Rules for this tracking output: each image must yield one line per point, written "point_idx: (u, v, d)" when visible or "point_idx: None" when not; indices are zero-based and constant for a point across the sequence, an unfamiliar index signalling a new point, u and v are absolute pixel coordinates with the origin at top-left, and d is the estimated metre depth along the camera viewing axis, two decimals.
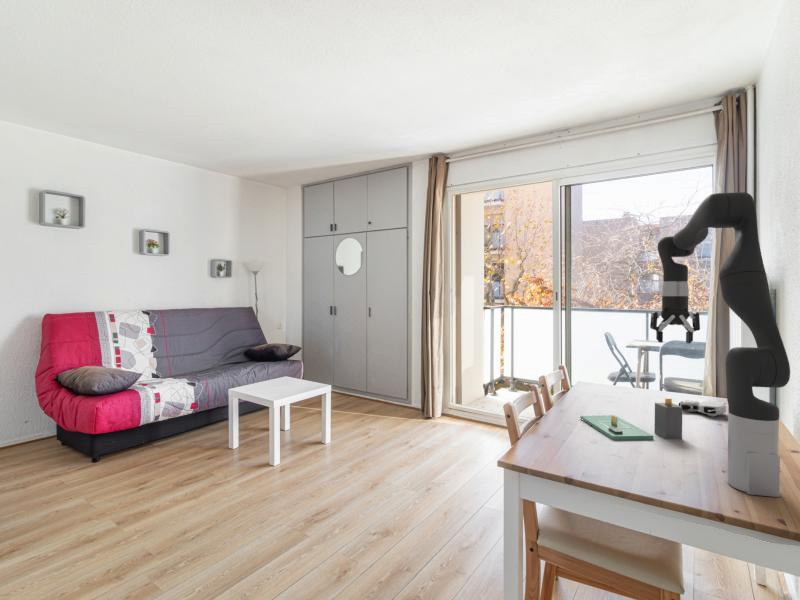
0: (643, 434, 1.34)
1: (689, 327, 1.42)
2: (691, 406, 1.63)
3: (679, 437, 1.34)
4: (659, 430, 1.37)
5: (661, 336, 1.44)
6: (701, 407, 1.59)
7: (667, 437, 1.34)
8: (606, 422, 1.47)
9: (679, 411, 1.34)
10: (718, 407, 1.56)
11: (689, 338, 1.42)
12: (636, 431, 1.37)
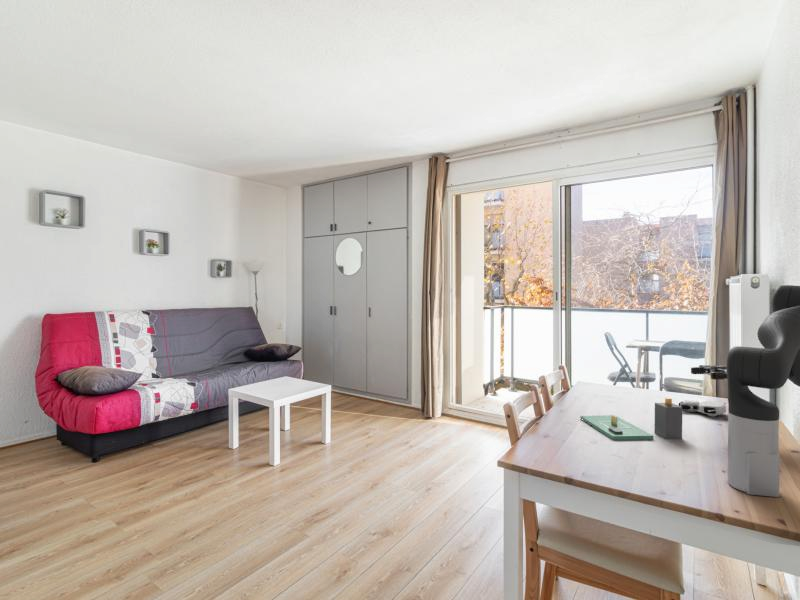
0: (643, 434, 1.34)
1: None
2: (691, 406, 1.63)
3: (679, 437, 1.34)
4: (659, 430, 1.37)
5: (697, 367, 1.41)
6: (701, 407, 1.59)
7: (667, 437, 1.34)
8: (606, 422, 1.47)
9: (679, 411, 1.34)
10: (718, 407, 1.56)
11: None
12: (636, 431, 1.37)
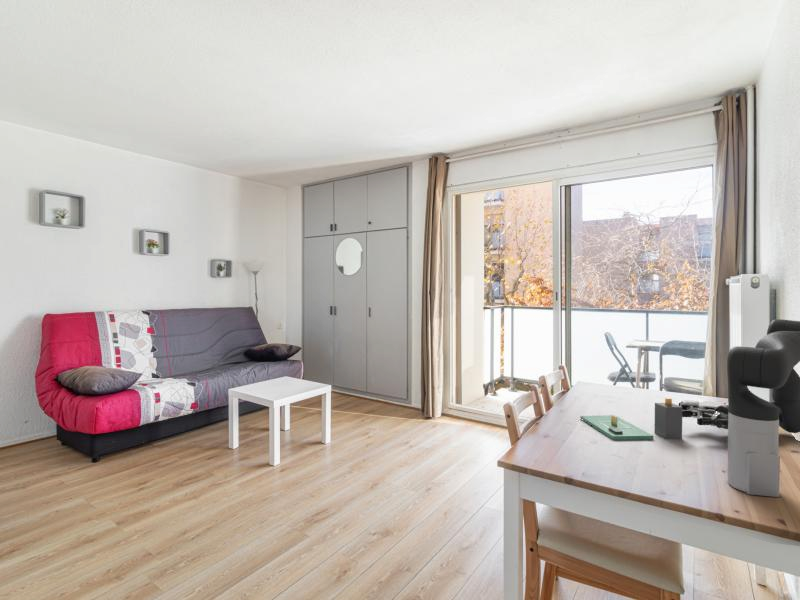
0: (643, 434, 1.34)
1: (714, 417, 1.33)
2: (691, 406, 1.63)
3: (679, 437, 1.34)
4: (659, 430, 1.37)
5: (685, 410, 1.41)
6: (701, 407, 1.59)
7: (667, 437, 1.34)
8: (606, 422, 1.47)
9: (679, 411, 1.34)
10: None
11: None
12: (636, 431, 1.37)
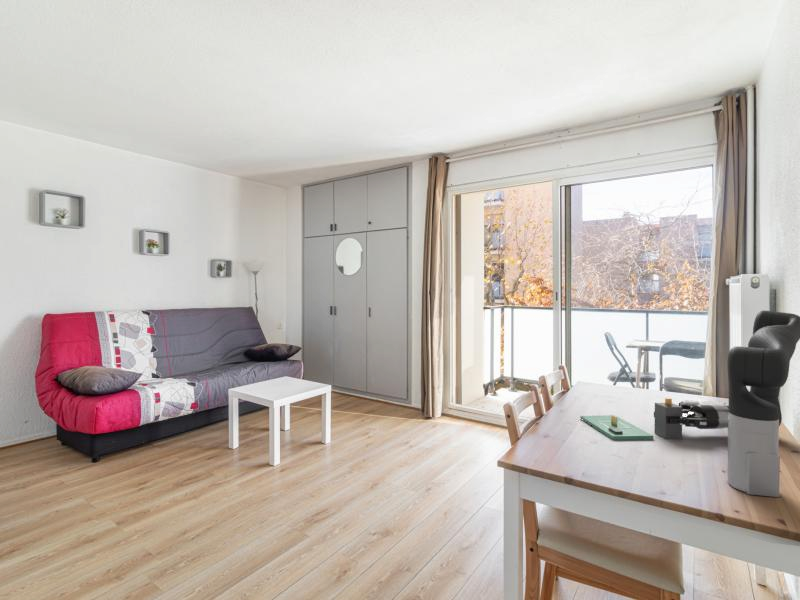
0: (643, 434, 1.34)
1: (683, 416, 1.34)
2: (691, 406, 1.63)
3: (679, 437, 1.34)
4: (659, 430, 1.37)
5: None
6: None
7: (667, 437, 1.34)
8: (606, 422, 1.47)
9: (679, 411, 1.34)
10: None
11: (671, 416, 1.34)
12: (636, 431, 1.37)
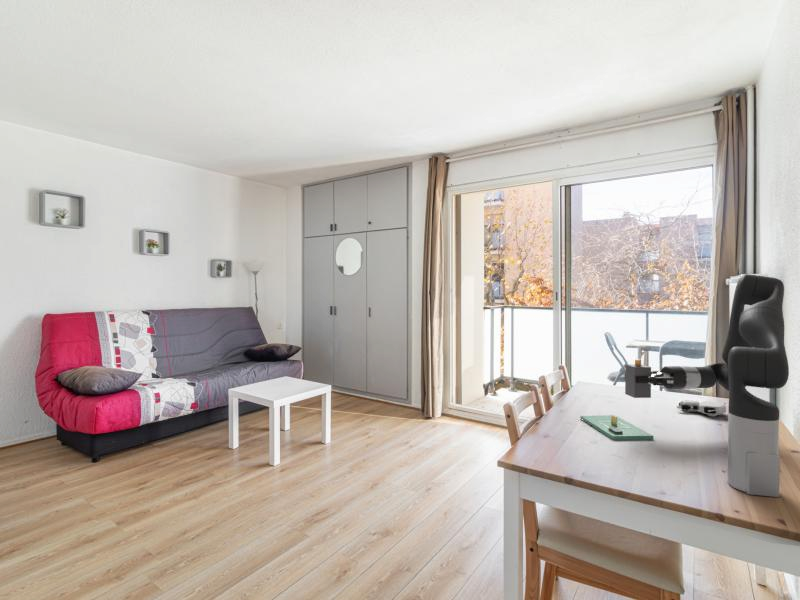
0: (643, 434, 1.34)
1: (652, 375, 1.38)
2: (691, 406, 1.63)
3: (648, 396, 1.38)
4: (629, 390, 1.41)
5: None
6: (701, 407, 1.59)
7: (636, 396, 1.38)
8: (606, 422, 1.47)
9: (648, 371, 1.38)
10: (718, 407, 1.56)
11: None
12: (636, 431, 1.37)
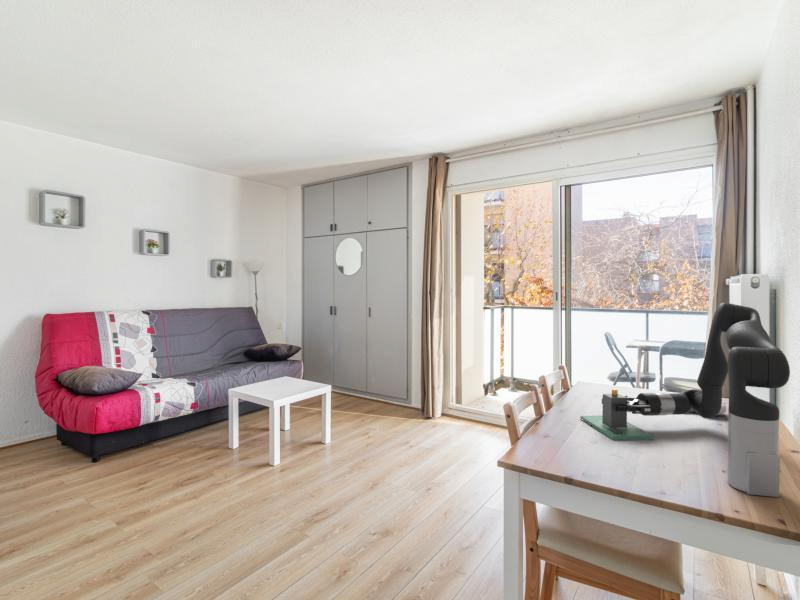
0: (643, 434, 1.34)
1: (630, 403, 1.40)
2: None
3: (624, 426, 1.41)
4: (606, 420, 1.44)
5: None
6: None
7: (613, 426, 1.41)
8: None
9: (624, 401, 1.41)
10: None
11: (619, 404, 1.40)
12: (636, 431, 1.37)
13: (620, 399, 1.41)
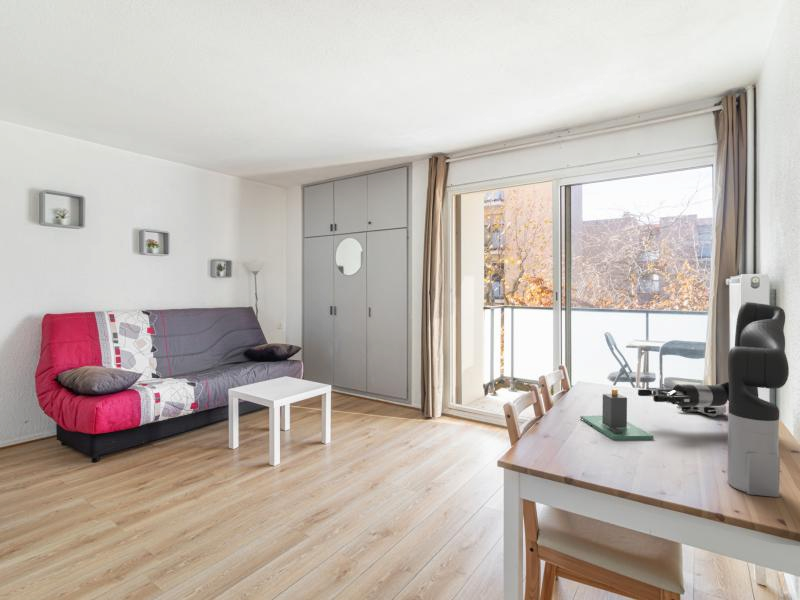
0: (643, 434, 1.34)
1: (669, 394, 1.40)
2: None
3: (624, 426, 1.41)
4: (606, 420, 1.44)
5: (644, 389, 1.48)
6: (701, 407, 1.59)
7: (613, 426, 1.41)
8: None
9: (624, 401, 1.41)
10: (718, 407, 1.56)
11: None
12: (636, 431, 1.37)
13: (620, 399, 1.41)
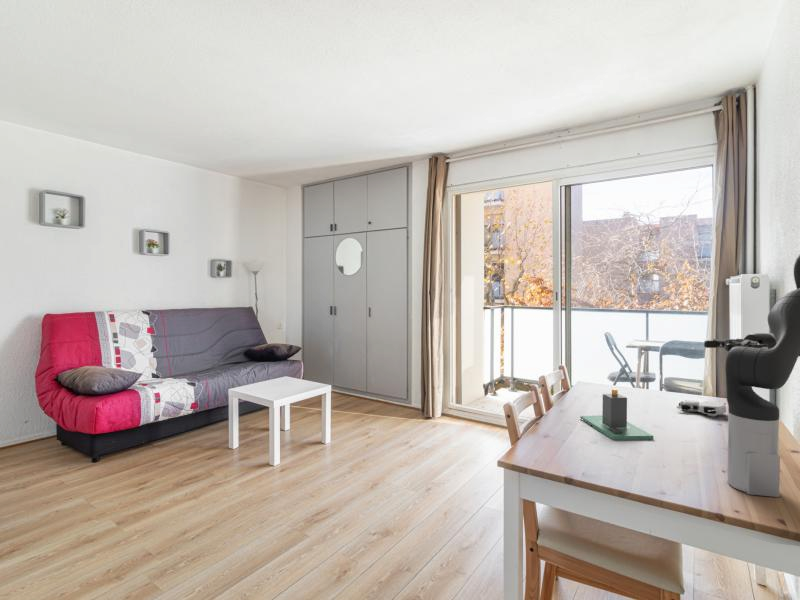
0: (643, 434, 1.34)
1: (744, 343, 1.25)
2: (691, 406, 1.63)
3: (624, 426, 1.41)
4: (606, 420, 1.44)
5: None
6: (701, 407, 1.59)
7: (613, 426, 1.41)
8: None
9: (624, 401, 1.41)
10: (718, 407, 1.56)
11: None
12: (636, 431, 1.37)
13: (620, 399, 1.41)
